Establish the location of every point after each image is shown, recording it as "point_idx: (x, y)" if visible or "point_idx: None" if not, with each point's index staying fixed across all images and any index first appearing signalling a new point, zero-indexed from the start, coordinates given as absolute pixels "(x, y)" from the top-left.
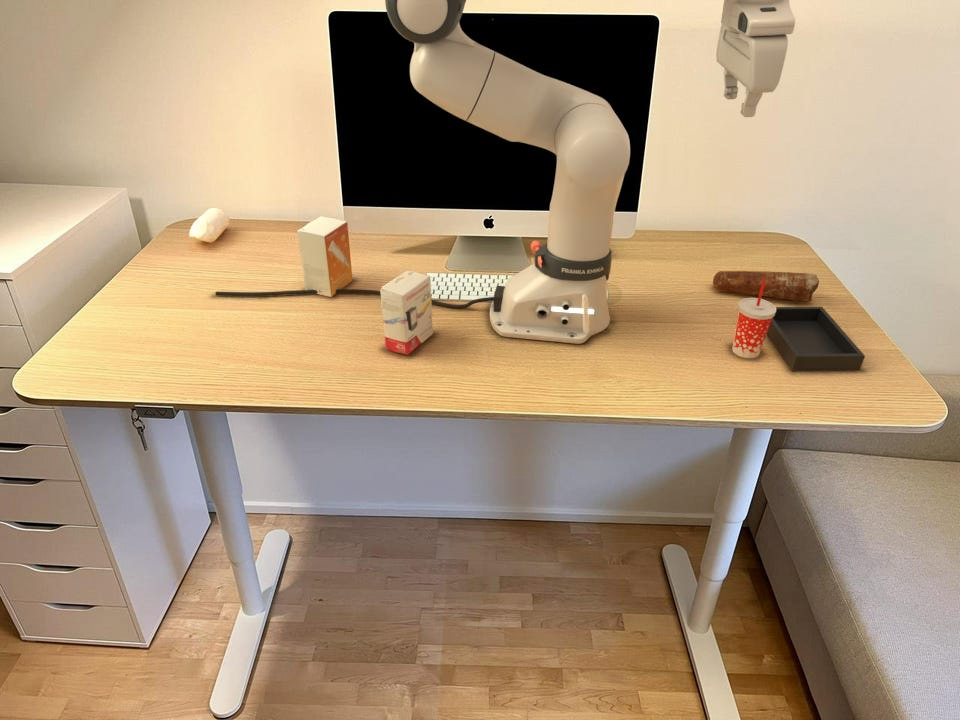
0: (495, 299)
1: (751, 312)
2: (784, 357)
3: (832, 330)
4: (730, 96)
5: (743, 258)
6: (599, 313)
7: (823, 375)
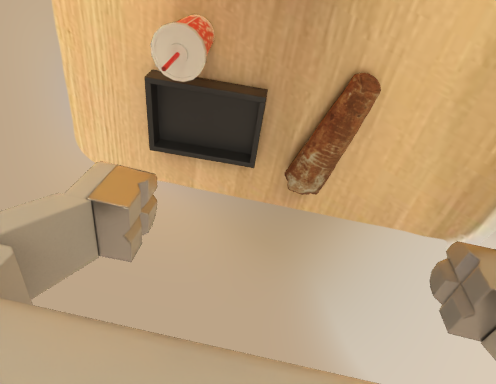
0: None
1: (158, 33)
2: None
3: (213, 153)
4: (452, 265)
5: (431, 160)
6: None
7: None
